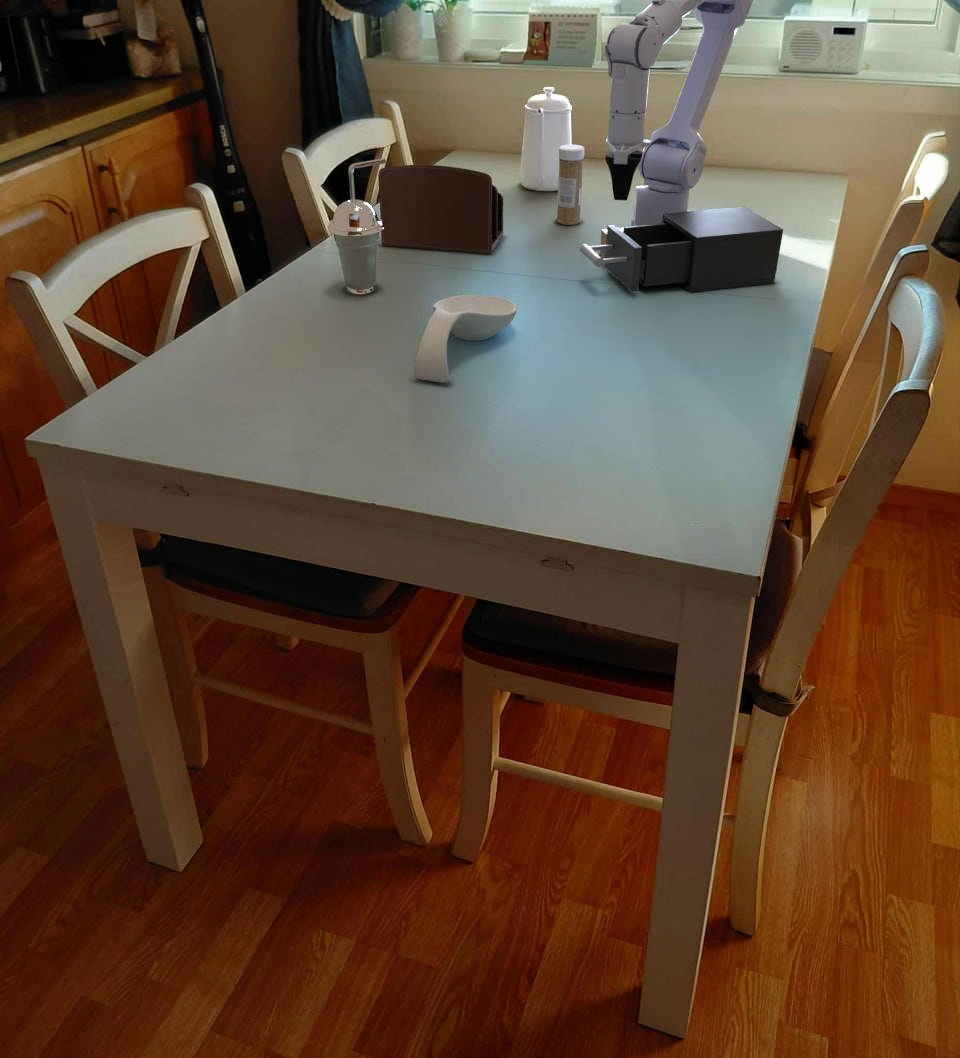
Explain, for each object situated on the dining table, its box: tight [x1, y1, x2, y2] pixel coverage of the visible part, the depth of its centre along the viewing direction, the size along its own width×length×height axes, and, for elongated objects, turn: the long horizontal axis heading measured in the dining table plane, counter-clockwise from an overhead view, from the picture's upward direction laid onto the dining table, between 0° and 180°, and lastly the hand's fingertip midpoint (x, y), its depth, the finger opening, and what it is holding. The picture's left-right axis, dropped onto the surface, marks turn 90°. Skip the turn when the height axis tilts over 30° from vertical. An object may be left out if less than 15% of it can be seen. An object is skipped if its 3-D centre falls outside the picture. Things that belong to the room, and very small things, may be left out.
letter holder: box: [377, 164, 504, 255], centre depth 169 cm, size 10×20×14 cm, turn 76°
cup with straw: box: [327, 157, 387, 296], centre depth 148 cm, size 8×9×20 cm
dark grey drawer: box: [579, 223, 694, 292], centre depth 154 cm, size 19×11×7 cm, turn 105°
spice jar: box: [556, 144, 585, 226], centre depth 178 cm, size 5×5×14 cm
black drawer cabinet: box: [662, 206, 784, 293], centre depth 157 cm, size 15×13×9 cm
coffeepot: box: [519, 86, 573, 192], centre depth 197 cm, size 11×25×19 cm, turn 168°
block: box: [599, 227, 624, 259], centre depth 164 cm, size 4×4×4 cm
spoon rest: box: [413, 294, 518, 383], centre depth 133 cm, size 24×12×7 cm, turn 162°
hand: (620, 199), depth 160 cm, fingers closed
